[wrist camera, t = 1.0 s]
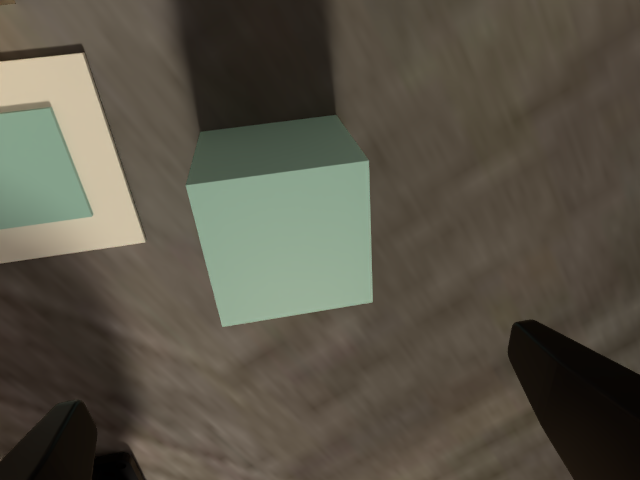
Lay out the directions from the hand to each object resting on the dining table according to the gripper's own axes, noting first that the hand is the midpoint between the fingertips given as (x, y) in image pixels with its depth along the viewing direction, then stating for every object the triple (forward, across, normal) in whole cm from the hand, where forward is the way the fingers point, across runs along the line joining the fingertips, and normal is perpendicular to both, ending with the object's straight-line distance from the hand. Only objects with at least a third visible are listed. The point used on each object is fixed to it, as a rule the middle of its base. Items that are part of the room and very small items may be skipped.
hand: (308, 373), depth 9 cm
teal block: (+10, 0, 0) cm, 10 cm away
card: (+10, +9, -2) cm, 13 cm away
